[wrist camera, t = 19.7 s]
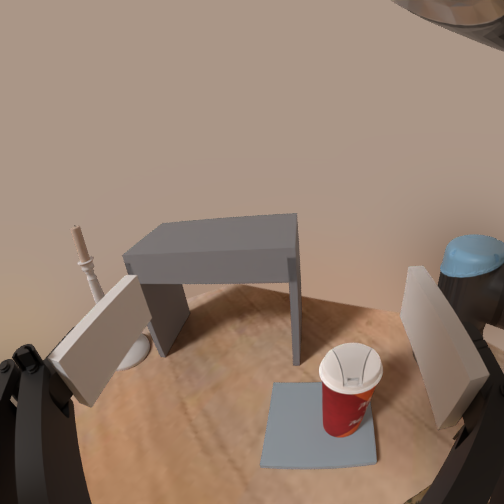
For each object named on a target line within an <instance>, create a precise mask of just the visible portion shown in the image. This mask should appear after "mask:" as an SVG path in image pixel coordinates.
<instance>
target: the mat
mask: <svg viewBox="0 0 504 504" xmlns="http://www.w3.org/2000/svg"><path fill="white" fill-rule="evenodd" d="M376 462H377V458H376V446H375V436H374V426H373V418H372V410H371V402H369V405H368V407H367V409H366V412H365V414H364V416H363V419H362V421H361V423H360V425H359V427H358V429H357V430H356V431H355V432H354V433H353V434H352V435H350V436H347V437H343V438H337V437H333V436H331V435H329V434H328V433H327V432H326V431H325V429H324V427H323V413H322V382H315V383H273V390H272V397H271V403H270V409H269V416H268V422H267V428H266V434H265V439H264V445H263V451H262V456H261V462H260V467H261V468H276V469H331V468H346V467H357V466H366V465H374V464H376Z"/></svg>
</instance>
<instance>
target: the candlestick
mask: <svg viewBox="0 0 504 504" xmlns="http://www.w3.org/2000/svg"><path fill="white" fill-rule="evenodd" d="M71 233H72V236H73V239H74V243H75V246H76V249H77V252H78V255H79V257H80V261H79V262H78V265H80V266H81V267H82V271H84V272H85V273H86V275H87V280H88V282H89V285H90V288H91V291H92V294H93V297H94V300H95V302H96V304H97V303H98V302H99V301H100V300H101V299H102V298H103V297H104V296H105V295H104V293H103V291H102V288H101V286H100V284H99V282H98V279H97V276H96V275H95V274H94V270H93V268H94V264H93V262H92V261H93V258H94V257H92V256H91V257H89V254H88V251H87V248H86V245H85V242H84V239H83V235H82V232H81V229H80V226H76V227H73V228H72V229H71ZM149 349H150V343H149V340H148V338H147V337H146V336H145V335H144V334H142V333H141V334H140V336H139V337H138V339H137V340H136V342H135V343H134V344H133V346H132V347H131V349H130V350H129V352H128V353H127V355H126V356H125V358H124V359H123V361H122V362H121V364H120V365H119V367H118V368H117V370H116V371H123V370H127V369H130V368H132V367H134V366H136V365H138V364H139V363H140V362H141V361H143V360H144V358H145V357H146V356H147V354H148V352H149Z"/></svg>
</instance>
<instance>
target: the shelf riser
mask: <svg viewBox="0 0 504 504" xmlns="http://www.w3.org/2000/svg"><path fill="white" fill-rule="evenodd" d="M122 256H123V259H124V263H125V265H126V269H127V272H128V275H137V276H138V279H139V283H140V285H141V288H142V291H143V294H144V297H145V300H146V303H147V306H148V308H149V311H150V314H151V316H152V319H151V320H150V321H149V323H148V324H147V326H148V329H149V331H150V334H151V336H152V339H153V341H154V343H155V346H156V348H157V350H158V352H159V355H160V357H166V355H167V353H168V352H169V350H170V348H171V346H172V344H173V343H174V341H175V339H176V337H177V335H178V334H179V332H180V330H181V328H182V326H183V325H184V323H185V321H186V319H187V318H188V316H189V314H190V311H189V307H188V304H187V300H186V297H185V293H184V290H183V286H182V284H245V283H288V282H289V290H290V291H289V292H290V309H291V327H292V349H293V365H300V350H301V325H302V302H301V276H300V256H299V238H298V224H297V213H293V214H275V215H258V216H244V217H230V218H217V219H205V220H193V221H182V222H172V223H162V224H161V225H159V226H158V227H157V228H156V229H154V230H153V231H152V232H150V233H149V234H148V235H147V236H145V237H144V238H143V239H142V240H140V241H139V242H138V243H137V244H136V245H134V246H133V247H132V248H131V249H129V250H128V251H127V252H126V253H124V254H123V255H122Z"/></svg>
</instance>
